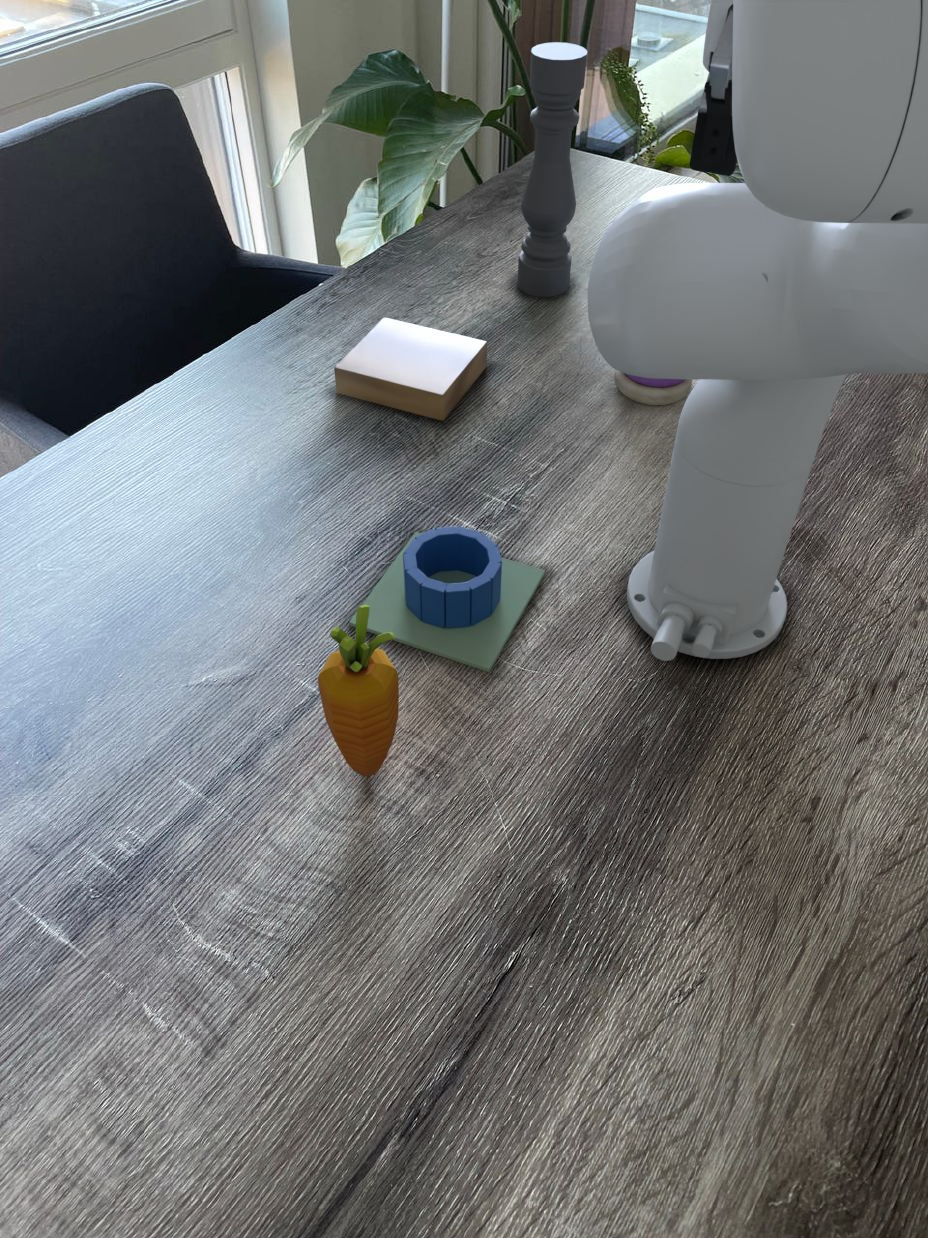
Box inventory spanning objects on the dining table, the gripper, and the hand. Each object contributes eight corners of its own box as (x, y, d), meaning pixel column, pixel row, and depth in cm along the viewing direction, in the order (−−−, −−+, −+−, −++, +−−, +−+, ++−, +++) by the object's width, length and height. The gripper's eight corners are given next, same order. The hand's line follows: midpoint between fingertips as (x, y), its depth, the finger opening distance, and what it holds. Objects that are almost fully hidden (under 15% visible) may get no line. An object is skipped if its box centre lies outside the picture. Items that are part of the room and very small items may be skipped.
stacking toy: (608, 402, 101) (631, 220, 88) (618, 361, 106) (642, 183, 93) (686, 413, 100) (723, 230, 86) (693, 371, 105) (728, 192, 92)
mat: (489, 672, 75) (489, 669, 75) (349, 625, 79) (348, 622, 78) (545, 573, 83) (545, 570, 83) (415, 534, 86) (415, 531, 86)
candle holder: (508, 277, 119) (517, 45, 101) (553, 267, 121) (571, 38, 103) (532, 301, 115) (546, 64, 98) (579, 290, 117) (601, 55, 99)
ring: (478, 639, 77) (478, 603, 74) (389, 612, 79) (387, 575, 76) (513, 577, 82) (515, 541, 79) (428, 553, 84) (428, 516, 81)
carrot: (366, 733, 71) (351, 581, 61) (418, 770, 69) (412, 618, 58) (316, 777, 69) (291, 626, 58) (369, 817, 66) (353, 667, 56)
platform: (443, 421, 98) (442, 395, 96) (336, 393, 102) (333, 367, 100) (486, 366, 106) (487, 341, 103) (385, 341, 109) (384, 316, 107)
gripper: (817, -107, 55) (752, 201, 68) (863, -155, 67) (800, 117, 79) (685, -119, 58) (645, 182, 70) (752, -163, 69) (707, 103, 81)
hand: (727, 147), depth 74 cm, fingers open, 9 cm apart
